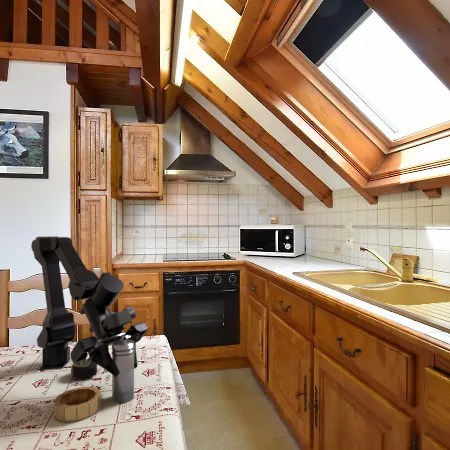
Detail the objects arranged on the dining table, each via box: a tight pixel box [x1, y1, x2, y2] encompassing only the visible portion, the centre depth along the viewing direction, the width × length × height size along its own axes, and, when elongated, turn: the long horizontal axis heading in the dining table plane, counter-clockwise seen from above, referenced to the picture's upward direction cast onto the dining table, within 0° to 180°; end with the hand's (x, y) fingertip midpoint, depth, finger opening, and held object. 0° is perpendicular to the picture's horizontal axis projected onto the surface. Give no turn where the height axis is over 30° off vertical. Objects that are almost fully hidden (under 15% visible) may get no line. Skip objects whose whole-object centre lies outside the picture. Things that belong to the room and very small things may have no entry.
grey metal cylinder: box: [111, 339, 135, 404], centre depth 75 cm, size 5×5×13 cm
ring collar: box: [53, 386, 102, 423], centre depth 70 cm, size 9×9×3 cm
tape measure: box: [70, 358, 98, 380], centre depth 88 cm, size 7×7×4 cm
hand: (126, 371), depth 75 cm, fingers closed on grey metal cylinder, 5 cm apart
